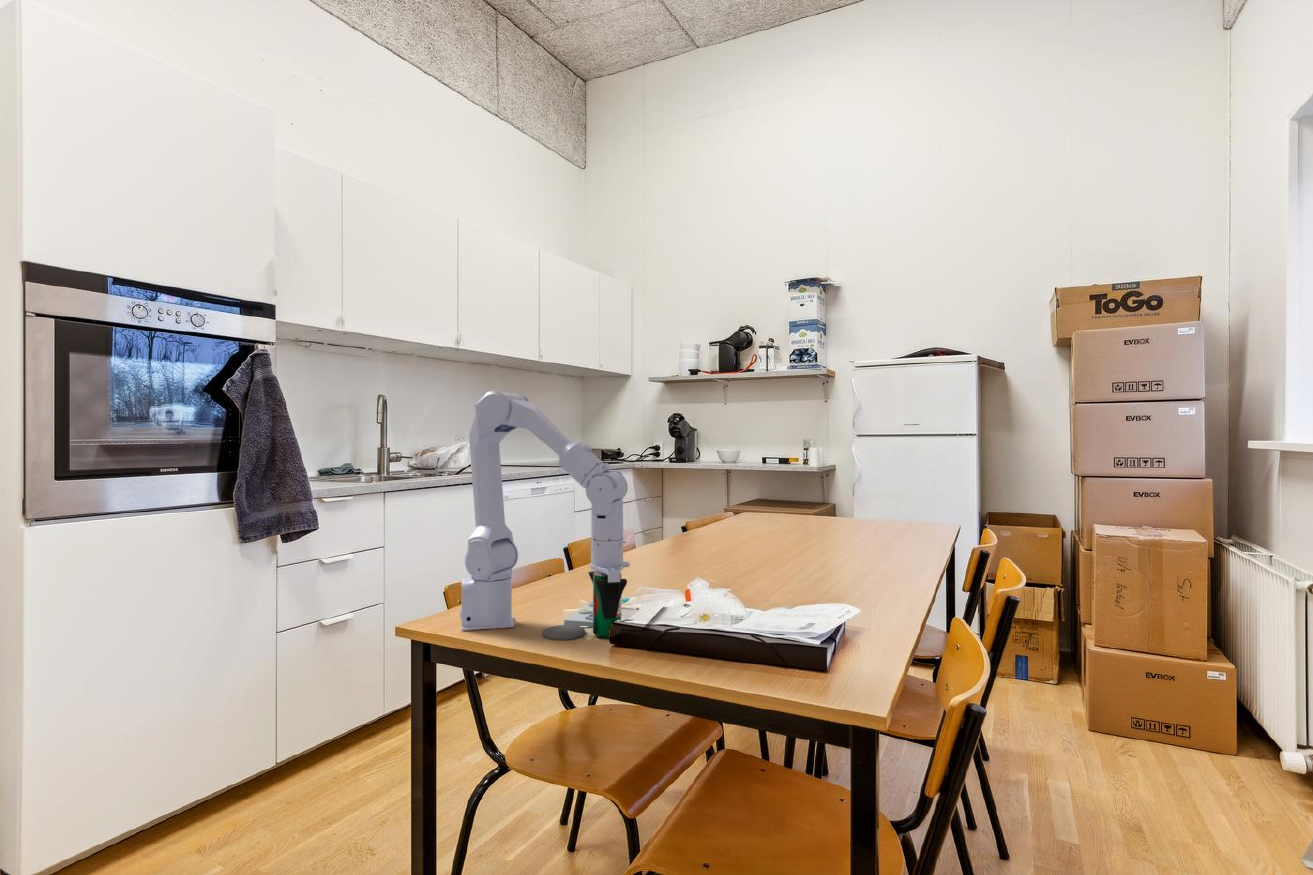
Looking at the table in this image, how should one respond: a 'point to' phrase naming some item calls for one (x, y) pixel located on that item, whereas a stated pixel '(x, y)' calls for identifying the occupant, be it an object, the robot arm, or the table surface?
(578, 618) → the electronic device
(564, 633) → the rubber mat
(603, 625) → the soda can
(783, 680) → the table surface
